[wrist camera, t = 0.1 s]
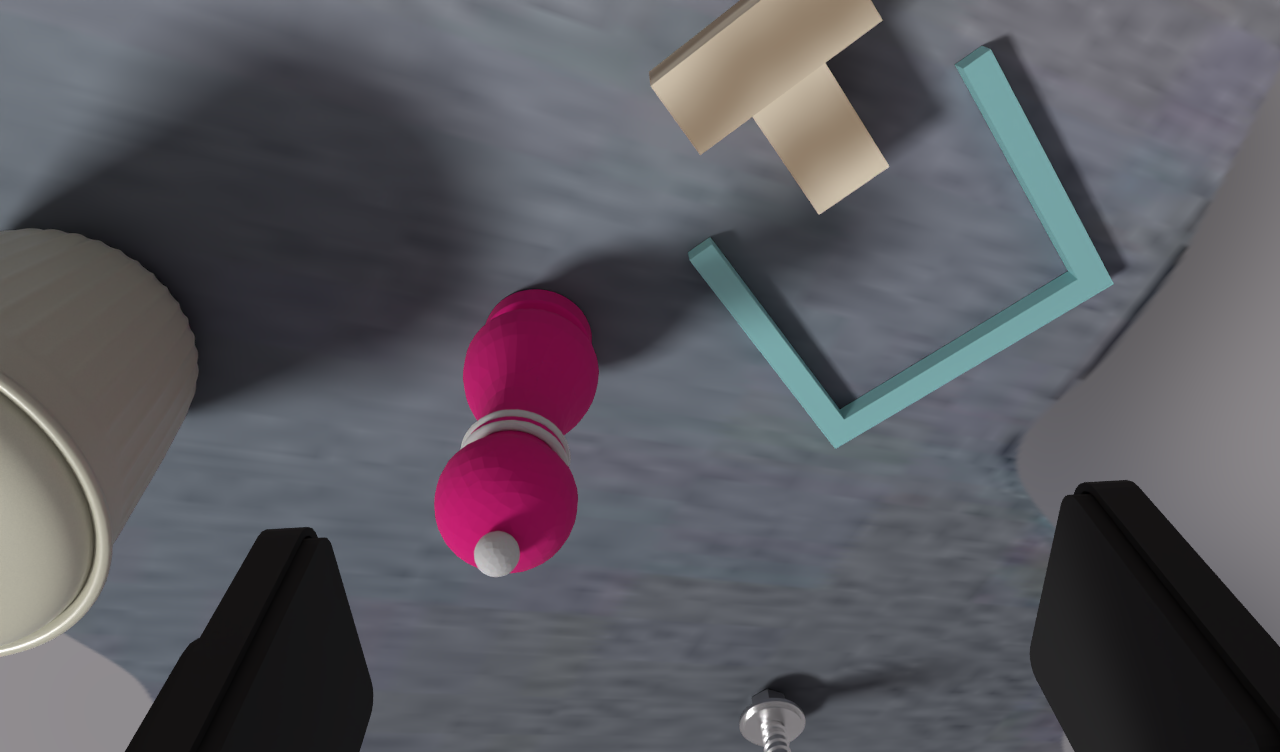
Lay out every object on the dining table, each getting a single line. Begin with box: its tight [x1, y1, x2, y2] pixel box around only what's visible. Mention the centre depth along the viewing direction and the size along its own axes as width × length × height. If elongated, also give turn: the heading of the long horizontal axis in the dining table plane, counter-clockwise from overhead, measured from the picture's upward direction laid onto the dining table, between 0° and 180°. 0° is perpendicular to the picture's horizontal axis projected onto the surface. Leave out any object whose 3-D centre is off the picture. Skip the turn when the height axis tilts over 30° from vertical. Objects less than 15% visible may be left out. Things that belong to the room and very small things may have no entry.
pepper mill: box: [434, 289, 599, 577], centre depth 42 cm, size 7×7×20 cm
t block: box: [649, 0, 889, 215], centre depth 43 cm, size 10×10×4 cm
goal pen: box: [688, 46, 1114, 449], centre depth 48 cm, size 16×18×1 cm
